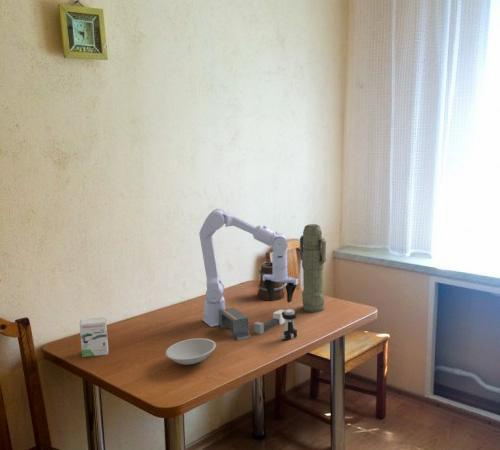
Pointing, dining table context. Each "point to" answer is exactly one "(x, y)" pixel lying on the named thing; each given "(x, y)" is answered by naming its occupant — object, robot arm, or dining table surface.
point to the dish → (190, 350)
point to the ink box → (94, 336)
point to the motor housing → (234, 323)
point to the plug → (269, 322)
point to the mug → (262, 292)
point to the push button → (289, 324)
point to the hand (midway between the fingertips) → (280, 300)
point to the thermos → (313, 267)
